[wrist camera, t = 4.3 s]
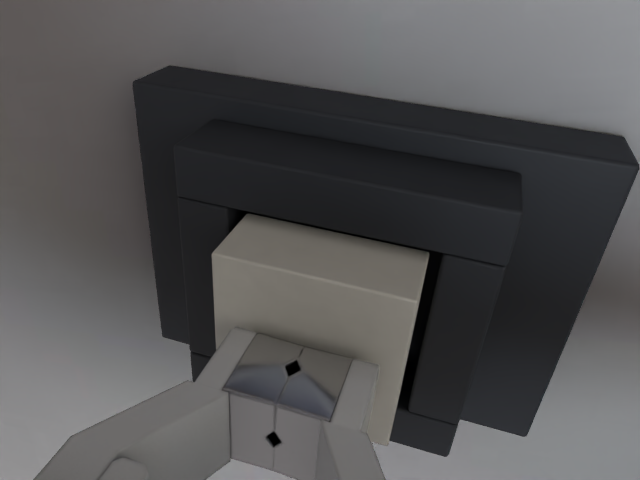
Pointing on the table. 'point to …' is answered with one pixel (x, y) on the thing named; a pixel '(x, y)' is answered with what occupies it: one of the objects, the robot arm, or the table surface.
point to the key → (323, 297)
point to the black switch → (391, 224)
